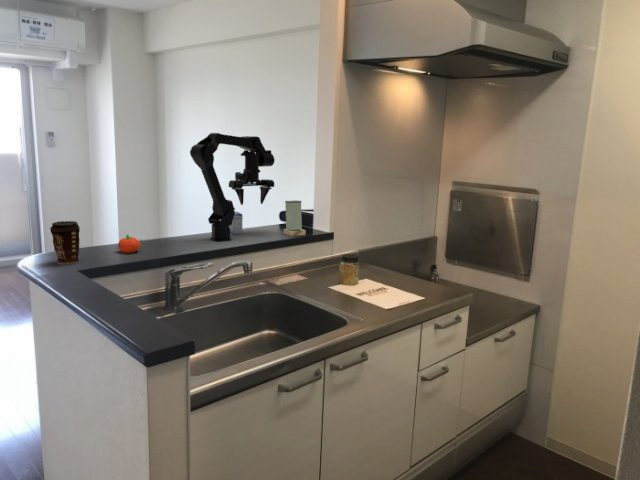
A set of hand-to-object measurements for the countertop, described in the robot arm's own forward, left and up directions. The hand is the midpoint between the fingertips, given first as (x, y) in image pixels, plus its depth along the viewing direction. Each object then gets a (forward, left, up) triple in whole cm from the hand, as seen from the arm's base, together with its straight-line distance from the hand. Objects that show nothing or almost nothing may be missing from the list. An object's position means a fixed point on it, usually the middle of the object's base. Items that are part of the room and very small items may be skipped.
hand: (251, 204), depth 220 cm
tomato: (-53, -10, -13) cm, 56 cm away
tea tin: (+17, -7, -11) cm, 21 cm away
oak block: (+17, -7, -14) cm, 23 cm away
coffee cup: (-74, -16, -13) cm, 77 cm away
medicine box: (-4, +8, -13) cm, 16 cm away
